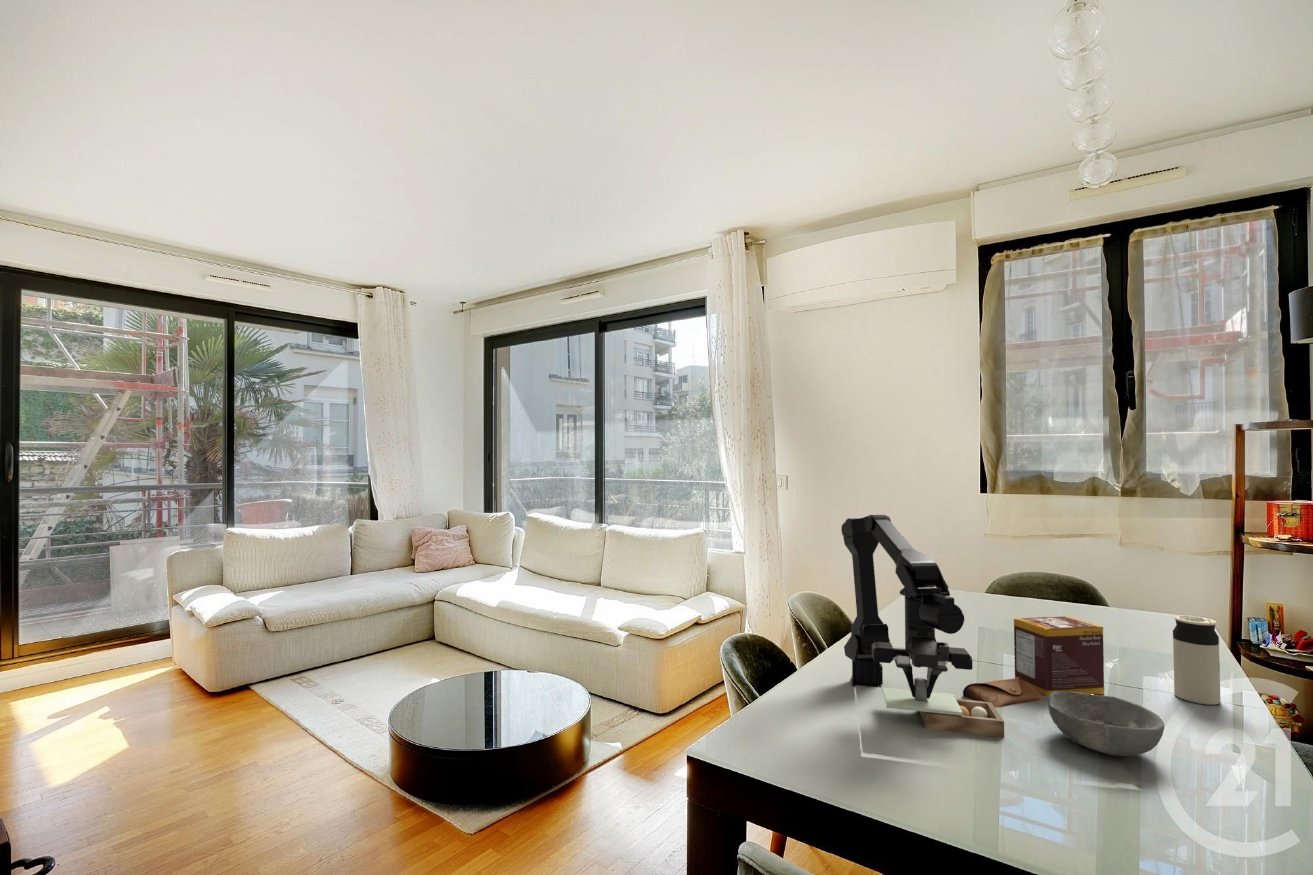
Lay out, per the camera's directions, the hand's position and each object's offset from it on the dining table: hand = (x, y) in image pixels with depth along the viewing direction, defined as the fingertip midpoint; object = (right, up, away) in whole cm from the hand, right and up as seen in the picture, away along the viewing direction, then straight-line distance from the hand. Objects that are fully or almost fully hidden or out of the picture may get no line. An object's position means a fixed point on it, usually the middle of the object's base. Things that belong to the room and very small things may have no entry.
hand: (920, 697), depth 130 cm
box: (+7, -5, -2) cm, 9 cm away
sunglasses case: (+25, -6, +12) cm, 28 cm away
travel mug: (+68, -6, +13) cm, 70 cm away
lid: (0, -1, 0) cm, 1 cm away
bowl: (+29, -5, -12) cm, 32 cm away
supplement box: (+41, -6, +20) cm, 46 cm away
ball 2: (+11, -4, -2) cm, 12 cm away
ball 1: (+8, -4, -1) cm, 9 cm away
